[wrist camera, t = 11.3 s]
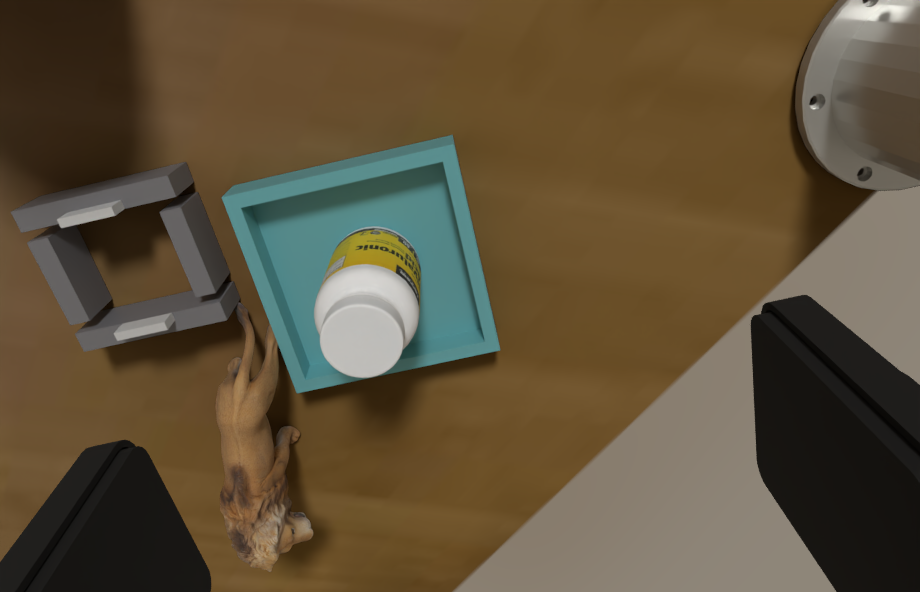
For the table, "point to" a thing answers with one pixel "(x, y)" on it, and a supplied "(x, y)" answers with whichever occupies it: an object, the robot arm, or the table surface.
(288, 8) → the table surface
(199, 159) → the table surface
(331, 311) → the supplement bottle
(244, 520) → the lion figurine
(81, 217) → the clip holder
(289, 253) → the tray
